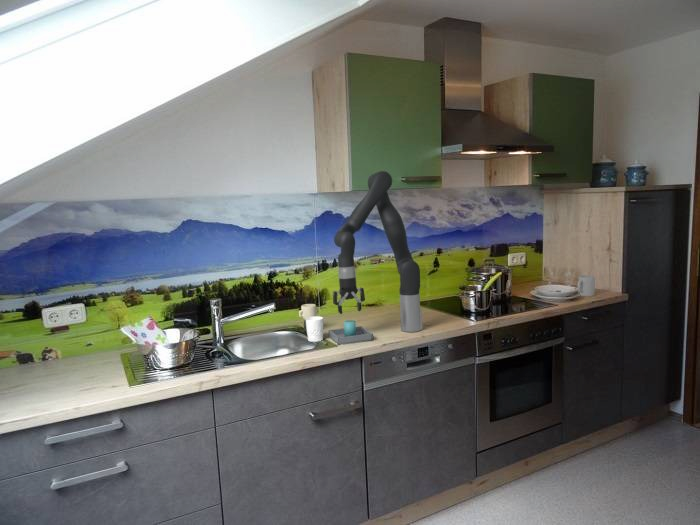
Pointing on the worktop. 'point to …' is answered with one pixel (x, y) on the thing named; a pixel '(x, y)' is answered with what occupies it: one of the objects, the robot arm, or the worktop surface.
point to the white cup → (314, 328)
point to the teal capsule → (350, 328)
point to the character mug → (308, 312)
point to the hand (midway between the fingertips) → (350, 312)
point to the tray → (340, 338)
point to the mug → (586, 285)
